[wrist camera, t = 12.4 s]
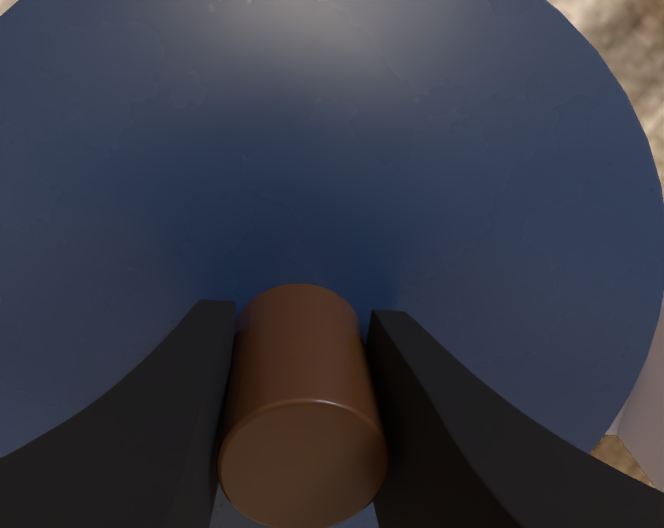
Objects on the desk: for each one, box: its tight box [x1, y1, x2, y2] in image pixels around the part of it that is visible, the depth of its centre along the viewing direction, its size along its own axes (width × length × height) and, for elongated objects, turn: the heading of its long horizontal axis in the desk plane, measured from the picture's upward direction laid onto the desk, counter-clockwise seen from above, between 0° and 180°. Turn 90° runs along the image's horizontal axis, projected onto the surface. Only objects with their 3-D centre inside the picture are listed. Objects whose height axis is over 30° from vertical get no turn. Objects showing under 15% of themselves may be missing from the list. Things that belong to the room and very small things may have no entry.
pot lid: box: [0, 0, 664, 528], centre depth 11 cm, size 14×14×4 cm
